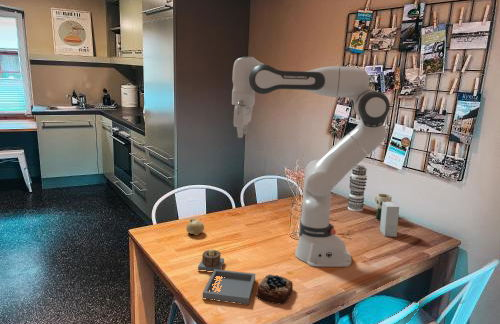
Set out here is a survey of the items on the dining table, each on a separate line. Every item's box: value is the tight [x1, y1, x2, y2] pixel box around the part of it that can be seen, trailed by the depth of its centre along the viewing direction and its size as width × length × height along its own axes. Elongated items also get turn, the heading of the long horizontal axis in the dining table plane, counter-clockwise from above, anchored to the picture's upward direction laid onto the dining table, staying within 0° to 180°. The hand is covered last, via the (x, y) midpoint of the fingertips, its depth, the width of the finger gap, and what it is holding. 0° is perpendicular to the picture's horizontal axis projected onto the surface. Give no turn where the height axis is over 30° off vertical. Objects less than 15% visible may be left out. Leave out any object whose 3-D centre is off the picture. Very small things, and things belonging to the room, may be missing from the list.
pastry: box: [255, 274, 294, 305], centre depth 120 cm, size 11×12×6 cm
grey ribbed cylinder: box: [347, 164, 368, 212], centre depth 203 cm, size 9×9×25 cm
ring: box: [201, 249, 221, 267], centre depth 135 cm, size 6×6×4 cm
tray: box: [202, 269, 256, 305], centre depth 122 cm, size 15×15×2 cm
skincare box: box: [379, 201, 400, 238], centre depth 171 cm, size 8×6×15 cm
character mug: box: [374, 193, 393, 221], centre depth 190 cm, size 11×7×13 cm, turn 31°
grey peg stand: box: [197, 248, 225, 271], centre depth 135 cm, size 8×8×7 cm
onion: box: [186, 218, 205, 235], centre depth 165 cm, size 8×8×7 cm
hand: (242, 135), depth 142 cm, fingers open, 8 cm apart
